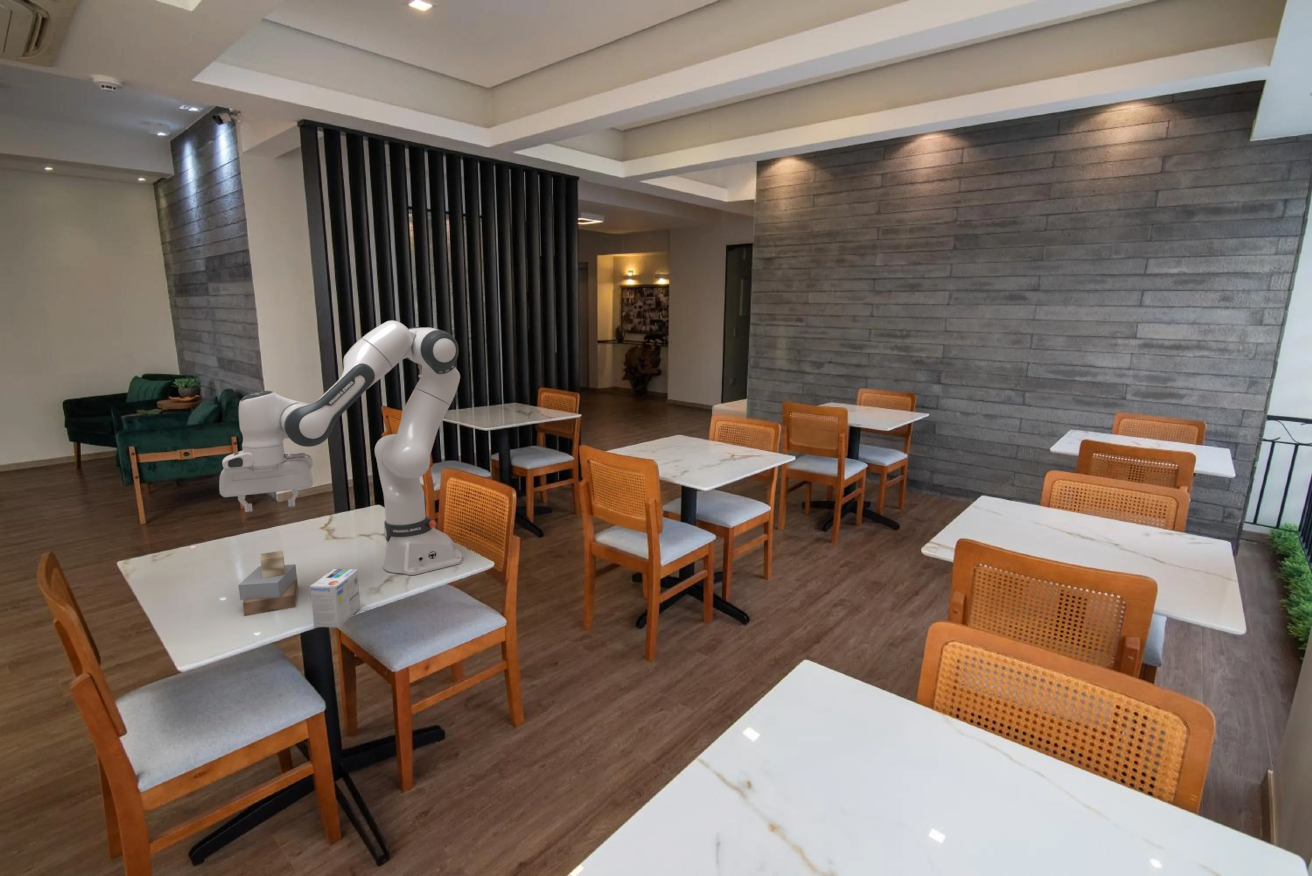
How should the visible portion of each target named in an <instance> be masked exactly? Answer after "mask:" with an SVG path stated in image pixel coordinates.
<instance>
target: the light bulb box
mask: <svg viewBox="0 0 1312 876" xmlns="http://www.w3.org/2000/svg"><path fill="white" fill-rule="evenodd" d="M309 592H310V603H311V611H312V612H311V613H312V621H313V627H314V628H340V627H341V626H343V625H344V623H346V622H347V621H348V620H349V619H350V618H351V617H352V616H354V614H356V613H357V611H359V610H360V609H361V597H360V584H359V573H358V569H357V568H352V569H351V568H350V569H349V568H332V569H330V570H329V571H328V572H327V573H326V574H324V575H323V576H322V577H320V578H319V579H318V580H316V581H315V582H314V583H312V584H311V585H309ZM355 612H356V613H355Z"/></svg>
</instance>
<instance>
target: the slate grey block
mask: <svg viewBox="0 0 1312 876" xmlns="http://www.w3.org/2000/svg"><path fill="white" fill-rule="evenodd" d="M296 579H297V580H298V575H297V566H296V564H293V563H292V564H285V575H281V576H275V577H269V578H264V579H262V571H261V565H260V566H258V567H257V568H256V569H254V570H253V571H252V572H251V573H250V574H249V575H248V576H247V577H246V578H244V579H243V581H241V582H240V583H239V584H238V593H239V600H240V601H244V600H247V599H261V598H276V597H280V596H281V595H282V594H283V593H284V592H285V591H286V590H287V589H288V587H289V586H290V585H291V584H292V583H293V582H294V581H295V580H296Z"/></svg>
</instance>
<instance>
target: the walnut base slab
mask: <svg viewBox="0 0 1312 876" xmlns="http://www.w3.org/2000/svg"><path fill="white" fill-rule="evenodd" d="M298 584H299V583H298V578H297V579H296V580H295V581H294V582H293V583H292V584H291V585H290V586H289V587H288V589H287V590H286V591H285V592H284V593H283V594H282V595H281V596H280V597H276V598H261V599H247V600H242V601H243V602H242V607H243V614H244V617H248V616H254V615H259V614H260V615H261V614H264V613H270V612H271V611H272V612H277V611H282V610H283V611H284V610H288V609H294V608H296V606H297V597H298V596H297V595H298V589H299V585H298Z"/></svg>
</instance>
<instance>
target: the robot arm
mask: <svg viewBox="0 0 1312 876" xmlns="http://www.w3.org/2000/svg"><path fill="white" fill-rule="evenodd" d="M458 356H459V344H458V342H457V340H456V338H455V337H454V336H453V335H451V334H450V333H449V332H447V331H446V330H441V329H439V328H434V327H422V326H421V327H420V326H413V327H409V328H408V327H407V326H405V324H403V323H401V322H400V321H397V320H387V321H385V322H384V323H382V324H379V325H378V326H376V327H375V328H373V329H372V330H370V331H369V332H367V333H366V334H364V336H362V337H361V338H360V339H359V340H358V341H356V342H355V343H354V344H353V345H352V346H351V347H350V348H349V350H348V351H347V352H346V354H344V357H343V371H342V374H341V376H340V377H339V379H338V380H337V381H336V382H335V383H334V384H333V385H332V386H331V387H330V388H329V389H328V390H327V391H325V392H324V394H322V395H321V396H320V397H319V398H318V399H317V400H316V401H314V402H311V403H308V402H304V401H298V400H294V399H291V398H287V397H284V396H282V395H280V394H278V393H276V392H274V391H271V390H263V391H255V392H252V393H249V394H247V395H244V396H243V397H242V398H241V399H240V400H239V402H238V403H239V405H238V423H239V431H240V432H241V434H242V443H241V448H242V450H239V451H237V452H235V453H231V454H228V455H227V456H225V457H224V458H223V459H222V461H221V462H222V463H221V464H222V467H223V469H222V470H221V473H220V475H219V481H218V482H219V486H218V487H219V489H218V490H219V495H221V496H222V497H223V498H230V497H231V498H232V497H237V500H238V502H239V503H240V504H241V505H242V506H243V507H244V512H245V513H251V512H253V504H252V503H248V502H247V500H245V499H246V496H248V495H251V496H252V495H259V494H267V493H269V494H270V493H276V492H278V493H279V492H284V491H285V492H286V491H291V493H292V494H293V495H292V497H291V498H289V499H287V506H288V508H293V507H296V499H297V497H298V495H299V490H303V489H310V488H311V487H312V486H313V485H314V480H313V473H312V471H311V469H312V468H313V458H312V456H311V455H310V454H306V453H305V452H299V453H285V446H284V445H285V443H284V440H286V439H289V440H290V441H291V442H293V443H294V444H296V445H298V446H301V447H306V448H307V447H308V448H309V447H315V446H318V445H321V444H322V443H324V442H325V441H326V440H327V439H328V438H329V437H330V435H331V434H332V431H333V429H334V426H335V425H336V422H337V421H338V420H339V418H341V416H342V415H343V413H345V412H346V411H347V410H348V409H350V407H351V406H352V405H353V404H354V403H355V402H356V401H357V400H358V399H359V398H360V397H361V396H362V395H363V394H364V393H365V392H366V391H367V390H368V389H370V388H371V386H373V385H374V384H375V383H376V382H378V381H379V380H380V379H382V378H383V377H384V376H385V375H387V374H388V373H389V372H390V371H391V370H392V369H393V368H394V367H395V366H396V365H398V364H399V362H401V361H403V360H404V359H406V360H408V361H409V362H412V363H414V364H418V365H421V374H420V377H419V380H418V382H417V383H416V385H415V387H414V389H413V390H412V393H411V395H410V396H409V398H408V400H407V402H406V403H405V406H404V408H403V409H402V412H401V419H400V423H399V427H398V429H397V432H396V433H394V434H386V435H385V436H383V437H381V438H380V439H378V440H377V442H376V444H375V447H374V456H375V458H376V463H377V465H376V466H377V470H378V476H379V480H380V484H381V485H380V486H381V488H382V493H383V500H384V501H383V503H384V514H385V520H384V526H383V528H384V538H385V541H386V544H385V545H386V547H385V548H386V549H385V556H384V562H383V566H382V568H383V570H384V571H387V572H389V573H393V574H403V575H407V576H414V575H419V574H423V573H426V572H431V571H432V572H433V571H435V570H440V569H443V568H448V567H451V566H455V565H459V564H460V565H461V563H462V561H463V554H462V552H461V551H460V550H459V549H458V548H456V547H455V546H454V543H453V540H452V539H451V538H450V536H449V535H448V534H446V533H444V532H442V531H440V530H438V529H436V527H437V522H436V521H435V520H433V518H432V517H431V516H429V515H428V516H427V515H426V505H425V502H426V501H425V500H426V499H425V491H424V489H423V486H422V483H421V479H420V478H421V477H422V476H424V475H425V474H426V473H427V472H428V470H429V468H430V465H431V464H430V463H431V453H432V450H433V447H434V443H435V440H436V436H437V433H438V430H439V428H440V426H441V423H442V422H443V420H444V418H445V416H446V414H447V412H448V410H449V408H450V406H451V404H452V402H453V401H454V398H455V395H456V393H457V390H458V387H459V383H460V379H461V374H460V372H459V371H458V369H457V368H456V366H457V364H458V363H457V362H458V361H457V360H458V358H459V357H458Z"/></svg>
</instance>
